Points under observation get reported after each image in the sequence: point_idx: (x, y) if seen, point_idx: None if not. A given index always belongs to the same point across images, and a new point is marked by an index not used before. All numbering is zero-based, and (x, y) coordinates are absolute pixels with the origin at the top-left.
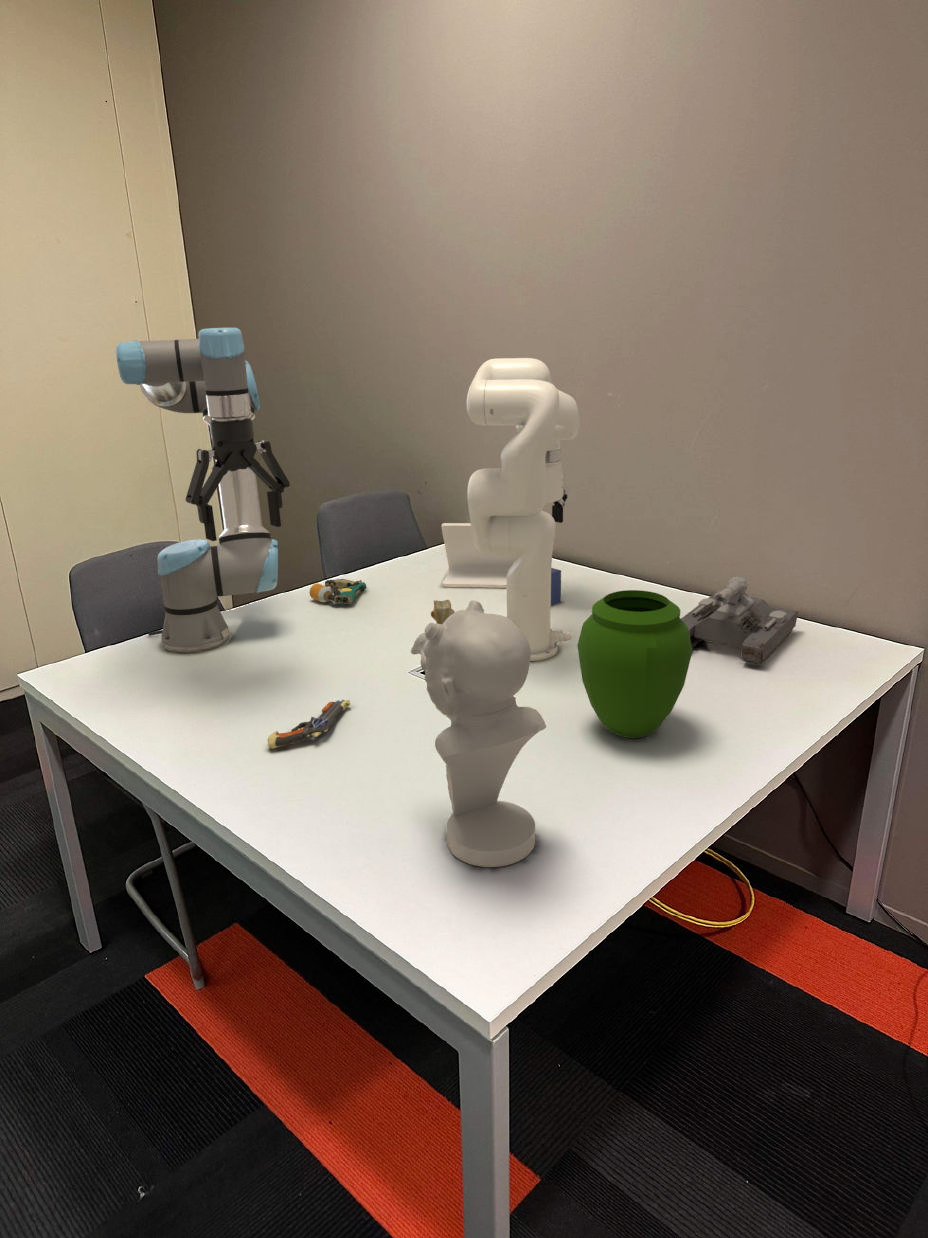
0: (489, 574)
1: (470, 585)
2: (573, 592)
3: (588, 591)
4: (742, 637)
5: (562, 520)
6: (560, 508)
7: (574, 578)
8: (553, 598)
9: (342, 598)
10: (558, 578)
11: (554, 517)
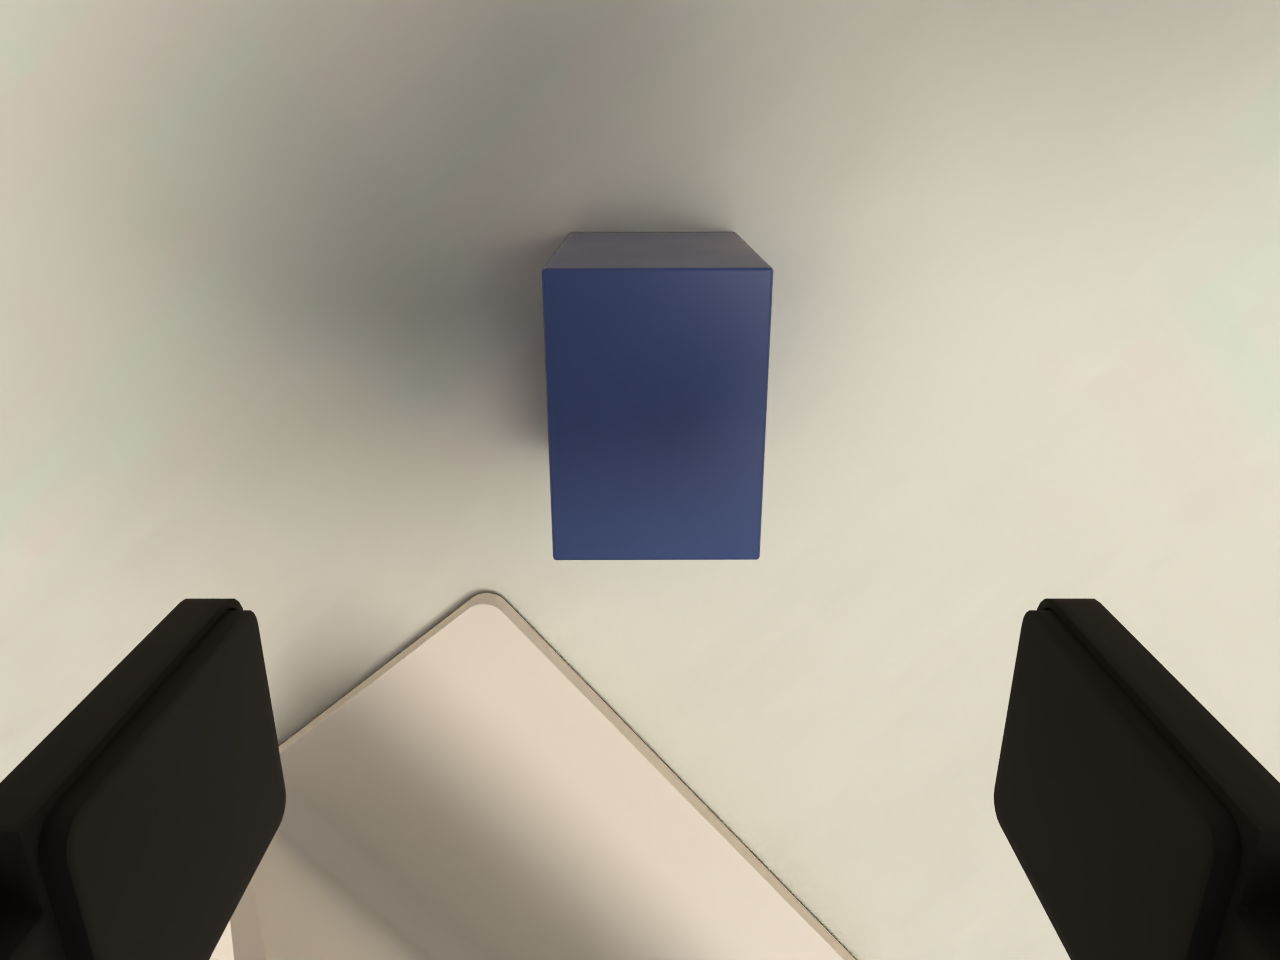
0: (541, 936)
1: (776, 884)
2: (320, 318)
3: (206, 243)
4: None
5: (190, 611)
6: (75, 835)
7: (84, 531)
8: (662, 237)
9: None
10: (590, 258)
11: (245, 809)
